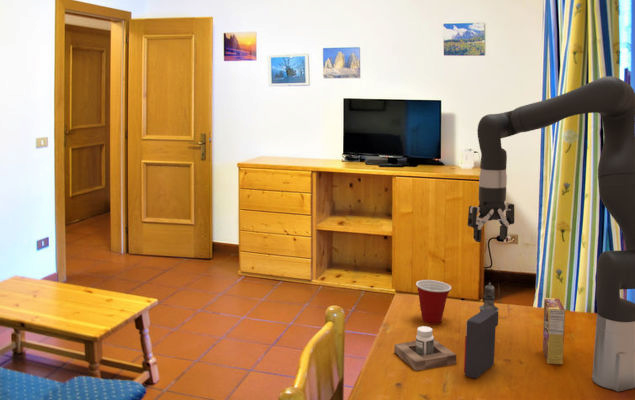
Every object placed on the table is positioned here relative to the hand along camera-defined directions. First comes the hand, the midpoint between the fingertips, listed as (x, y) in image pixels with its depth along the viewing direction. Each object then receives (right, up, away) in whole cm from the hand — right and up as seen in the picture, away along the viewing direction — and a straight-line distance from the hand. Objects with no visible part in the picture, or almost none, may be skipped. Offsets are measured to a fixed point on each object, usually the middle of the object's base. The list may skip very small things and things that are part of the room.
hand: (490, 240), depth 183 cm
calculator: (-8, -32, -19) cm, 39 cm away
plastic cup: (-14, -26, +15) cm, 33 cm away
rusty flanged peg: (+4, -26, +16) cm, 31 cm away
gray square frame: (-21, -31, -12) cm, 39 cm away
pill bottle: (-21, -31, -12) cm, 39 cm away
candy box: (+13, -31, -12) cm, 36 cm away
